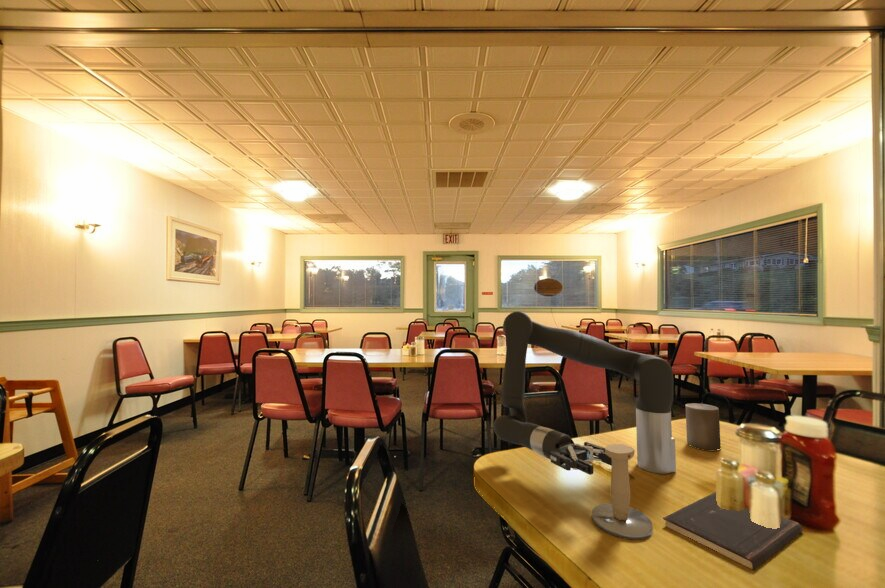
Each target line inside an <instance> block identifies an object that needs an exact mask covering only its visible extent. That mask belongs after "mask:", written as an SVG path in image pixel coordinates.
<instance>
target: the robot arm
mask: <svg viewBox="0 0 885 588" xmlns="http://www.w3.org/2000/svg"><path fill="white" fill-rule="evenodd" d="M502 330H503V331H502V332H503V333H504V336H505V351H506V352H505V361H504V362H505V363H504V369H503V375H502V382H501V383H502V384H501V397H500V401H501V402H500V403H501V405H502V406H503V407H506V408H508V410H509V411H510V412H509V413H510V415H500V416H497V417H496V418H495V420H494V422H493V431H494V434H495V435H496V436H497V438H499V439H500V440H502V441H505V442H507V443H511V444H515V445H518V446H523V447H524V448H527V449H529V450H531V451H533V452H535V453H537V454H538V455H539V456H542V457H544V458H546V459H547V460H550V463H551V464H553V465H556V466H557V467H559V468H561V469H564V470H565V471H571V470H574V471H578V470H579V471H580V472H583V473H585V474H588V475H589V476H590V475H593V474H594V465H593V464H592V463H593V462H594V461H597V462H602V463H603V464H606V465H609V466H611V467H612V458H610V457H609V456H607V455H606V454H605V447H603V446H600V445H597V444H593V443H591V442H588V441H584V442H583V444H580V443H575V442H574V441H573V439H572V437H571V436H570V435H569V434H566V433H564V432H562V431H561V432H560V431H558V430H556V429H552V428H550V427H546V426H545V427H544V426H541V425H539V424H536V423H534V422H529V421H528V418H527V413H526V408H525V389H526V387H525V385H526V361H527V353H528V352H527V351H528V345H531V346H535V347H538V348H542V349H545V350H547V351H549V352H551V353H553V354H556V355H558V356H560V357H563V358H566V359H568V360H570V361H573V362H577V363H578V364H583V365H586V366H590V367H594V368H598V369H599V368H600V369H607V370H612V371H616V372H618V373H621V374H622V375H625V376H627V377H629V378H632V379H634V380H636V381H638V384H639V385H638V388H639V389H638V397H636V398H635V420H636V421H635V423H636V427H635V428H636V429H635V430H636V431H635V432H636V460H637V463H636V464H637V466H638V467H639V468H641V469H642V470H645V471H646V472H650V473H653V474H663V475H665V474H670V473H676V472H677V459H676V438H675V437H673V433H672V405H673V403H674V391H675V390H674V371H673V368H672V366H671V364H670V363H669V362H668V361H667V360H666V359H663V358H662V357H658V356H656V355H652V354H646V353H640V352H636V351H631V350H628V349H623V348H620V347H618V346H615V345H614V344H611V343H609V342H607V341H606V340H603V339H600V338H598V337H595V336H593V335H589V334H587V333H583V332H581V331H576V330H573V329H565V328H559V327H552V326H547V325H544V324H541V323H539V322H536V321H534V320H531V318H530V316H529V315H528V314H527V313H525V312H523V311H519V310H518V311H513V312H510V313H509V314H508V315H507V316H506V317H505V318H504V321H503V324H502ZM588 455H589V457H588ZM589 462H590V463H589Z"/></svg>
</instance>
